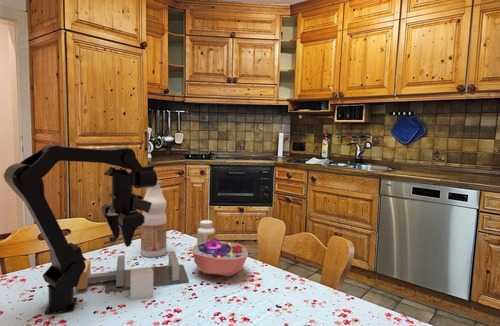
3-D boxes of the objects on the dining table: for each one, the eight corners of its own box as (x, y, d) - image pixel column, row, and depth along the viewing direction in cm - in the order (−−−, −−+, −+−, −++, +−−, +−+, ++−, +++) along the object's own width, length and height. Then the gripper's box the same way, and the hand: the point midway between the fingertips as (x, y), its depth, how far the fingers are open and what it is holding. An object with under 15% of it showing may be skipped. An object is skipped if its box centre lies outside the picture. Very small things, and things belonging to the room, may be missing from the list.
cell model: (225, 291, 98) (226, 254, 97) (180, 272, 110) (180, 239, 109) (258, 273, 112) (259, 240, 111) (215, 258, 124) (215, 229, 123)
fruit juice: (139, 258, 121) (139, 182, 119) (141, 249, 130) (142, 179, 128) (166, 257, 123) (166, 182, 121) (166, 248, 132) (167, 179, 130)
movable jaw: (123, 285, 97) (123, 269, 97) (73, 291, 93) (73, 274, 92) (124, 269, 108) (124, 255, 108) (80, 273, 104) (80, 258, 104)
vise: (188, 282, 103) (189, 263, 102) (104, 292, 95) (104, 272, 95) (183, 266, 115) (183, 249, 115) (108, 273, 107) (108, 256, 107)
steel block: (153, 297, 93) (153, 273, 93) (130, 300, 91) (130, 275, 91) (152, 290, 97) (152, 267, 96) (130, 293, 95) (130, 269, 94)
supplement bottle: (216, 252, 130) (216, 220, 129) (212, 258, 124) (213, 224, 123) (199, 250, 131) (200, 219, 130) (195, 256, 125) (195, 223, 123)
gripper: (162, 192, 95) (161, 245, 97) (136, 184, 109) (136, 230, 111) (123, 196, 88) (123, 253, 89) (101, 186, 102) (101, 236, 103)
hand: (122, 242), depth 98 cm, fingers open, 9 cm apart
